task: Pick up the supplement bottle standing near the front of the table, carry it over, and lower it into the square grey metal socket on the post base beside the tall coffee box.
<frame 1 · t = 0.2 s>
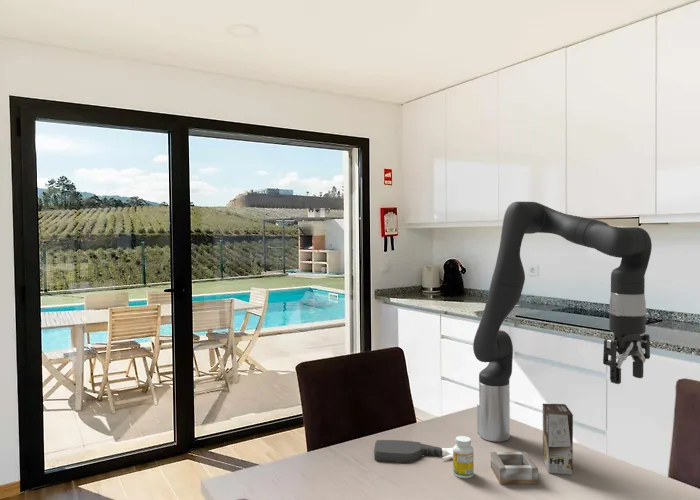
hand: (626, 380, 121), 29 cm above the table, tool pointing down, fingers open, 8 cm apart
coffee box: (557, 467, 141), on the table
post socket: (513, 475, 136), on the table
supplement bottle: (463, 474, 137), on the table
spray bottle: (416, 457, 149), on the table
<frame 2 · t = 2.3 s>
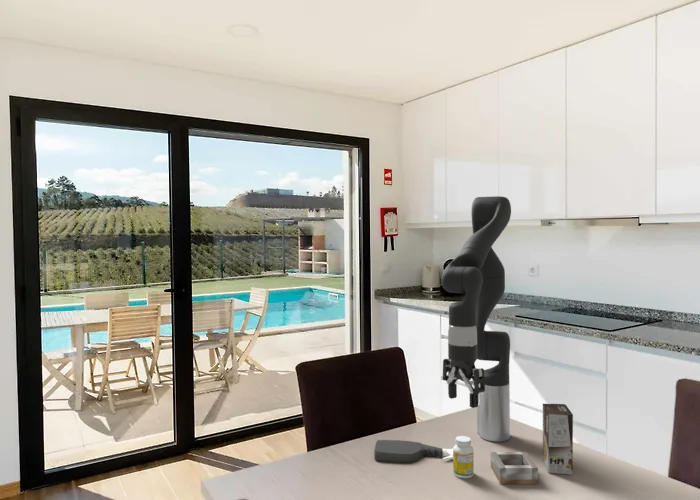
hand: (463, 402, 136), 19 cm above the table, tool pointing down, fingers open, 8 cm apart
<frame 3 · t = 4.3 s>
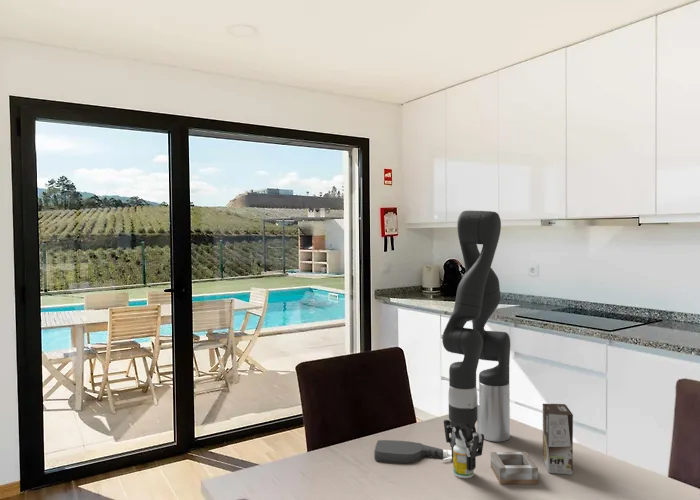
hand: (463, 464, 137), 3 cm above the table, tool pointing down, fingers closed on supplement bottle, 5 cm apart
supplement bottle: (463, 474, 137), on the table, touching gripper
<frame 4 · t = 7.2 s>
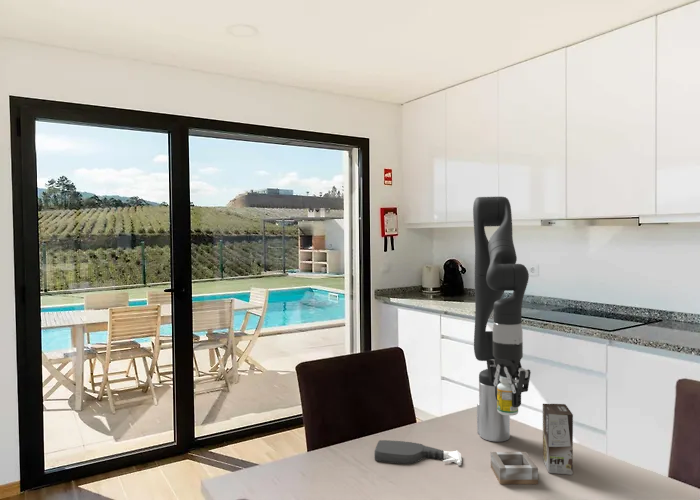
hand: (507, 402, 136), 19 cm above the table, tool pointing down, fingers closed on supplement bottle, 5 cm apart
supplement bottle: (507, 413, 136), point 17 cm above the table, touching gripper
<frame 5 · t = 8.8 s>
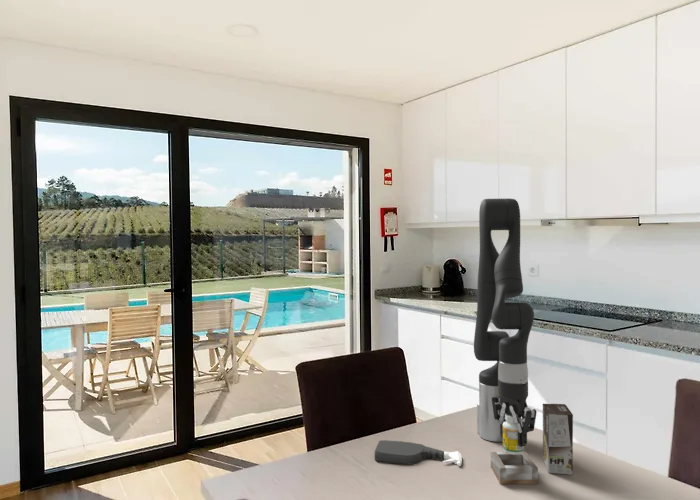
hand: (513, 441, 136), 9 cm above the table, tool pointing down, fingers closed on supplement bottle, 5 cm apart
supplement bottle: (513, 451, 136), point 6 cm above the table, touching gripper
when the fingers open (6 cm above the table, at t = 10.0 s): supplement bottle drops 2 cm, resting on post socket.
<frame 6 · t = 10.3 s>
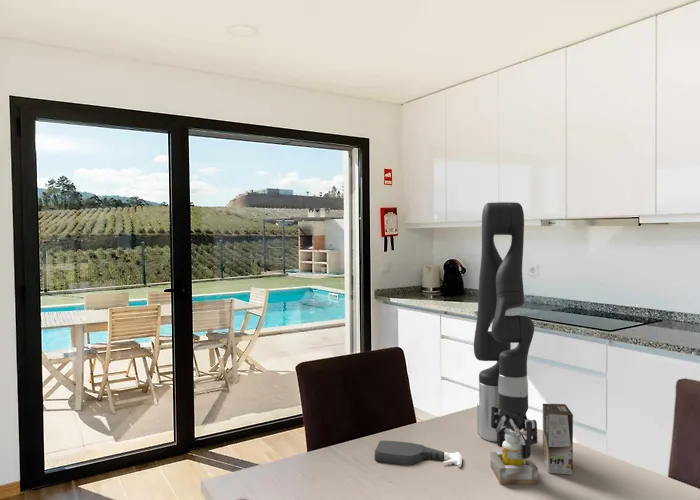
hand: (513, 452, 136), 6 cm above the table, tool pointing down, fingers open, 8 cm apart
supplement bottle: (512, 471, 136), point 1 cm above the table, touching post socket
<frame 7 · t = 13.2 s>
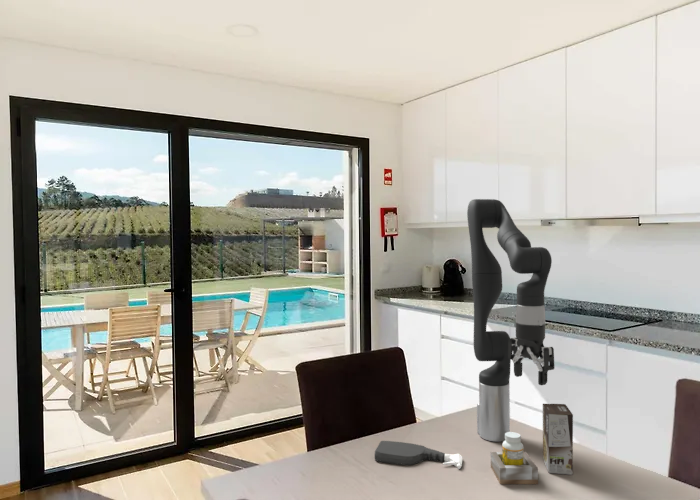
hand: (530, 380, 139), 24 cm above the table, tool pointing down, fingers open, 8 cm apart
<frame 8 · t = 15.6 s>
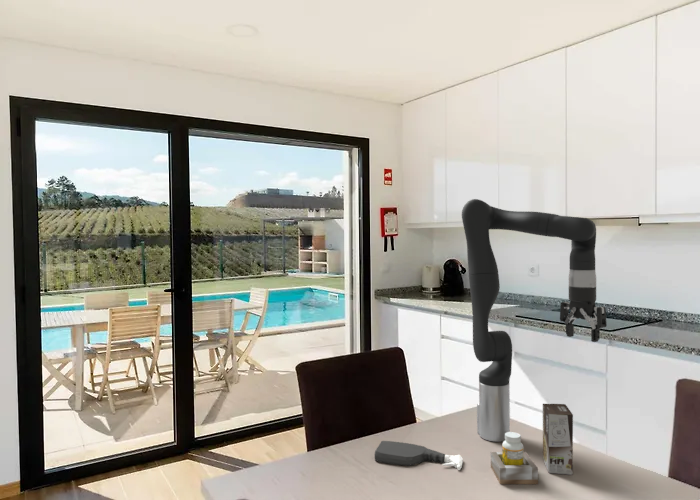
hand: (582, 339, 153), 32 cm above the table, tool pointing down, fingers open, 8 cm apart
at the end: supplement bottle 0.2 cm off-centre on the post socket, point 1.0 cm above the post socket's base; supplement bottle tilted 0°; the gripper is holding nothing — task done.
